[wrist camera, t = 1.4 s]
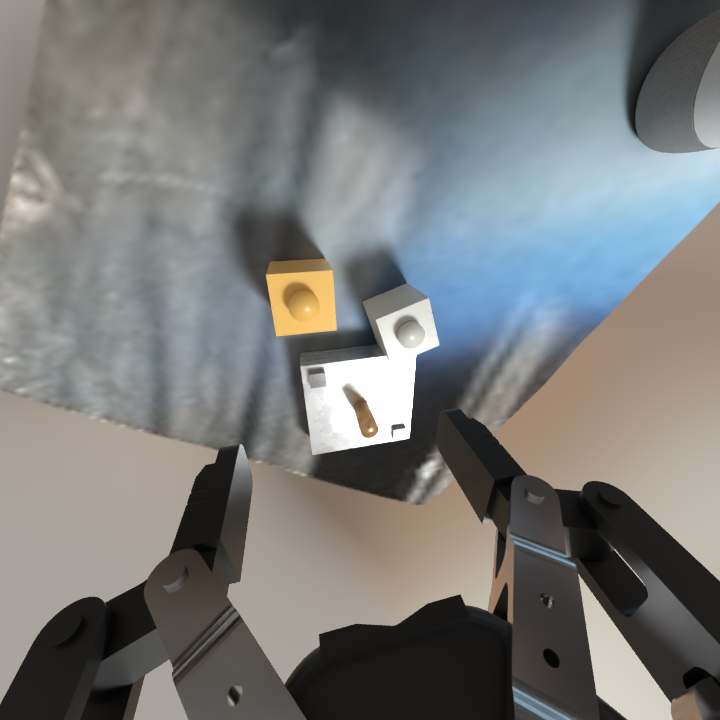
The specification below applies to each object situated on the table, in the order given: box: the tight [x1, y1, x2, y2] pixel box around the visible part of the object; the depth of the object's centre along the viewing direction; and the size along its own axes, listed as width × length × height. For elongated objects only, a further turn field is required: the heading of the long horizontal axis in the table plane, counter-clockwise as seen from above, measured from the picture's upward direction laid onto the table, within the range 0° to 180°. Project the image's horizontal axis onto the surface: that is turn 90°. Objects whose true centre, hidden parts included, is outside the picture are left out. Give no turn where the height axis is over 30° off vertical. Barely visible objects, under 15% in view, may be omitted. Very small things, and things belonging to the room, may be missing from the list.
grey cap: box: [363, 283, 439, 365], centre depth 29 cm, size 5×5×6 cm
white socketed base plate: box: [300, 344, 416, 455], centre depth 32 cm, size 12×12×7 cm
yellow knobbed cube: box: [266, 258, 337, 336], centre depth 25 cm, size 5×5×6 cm
